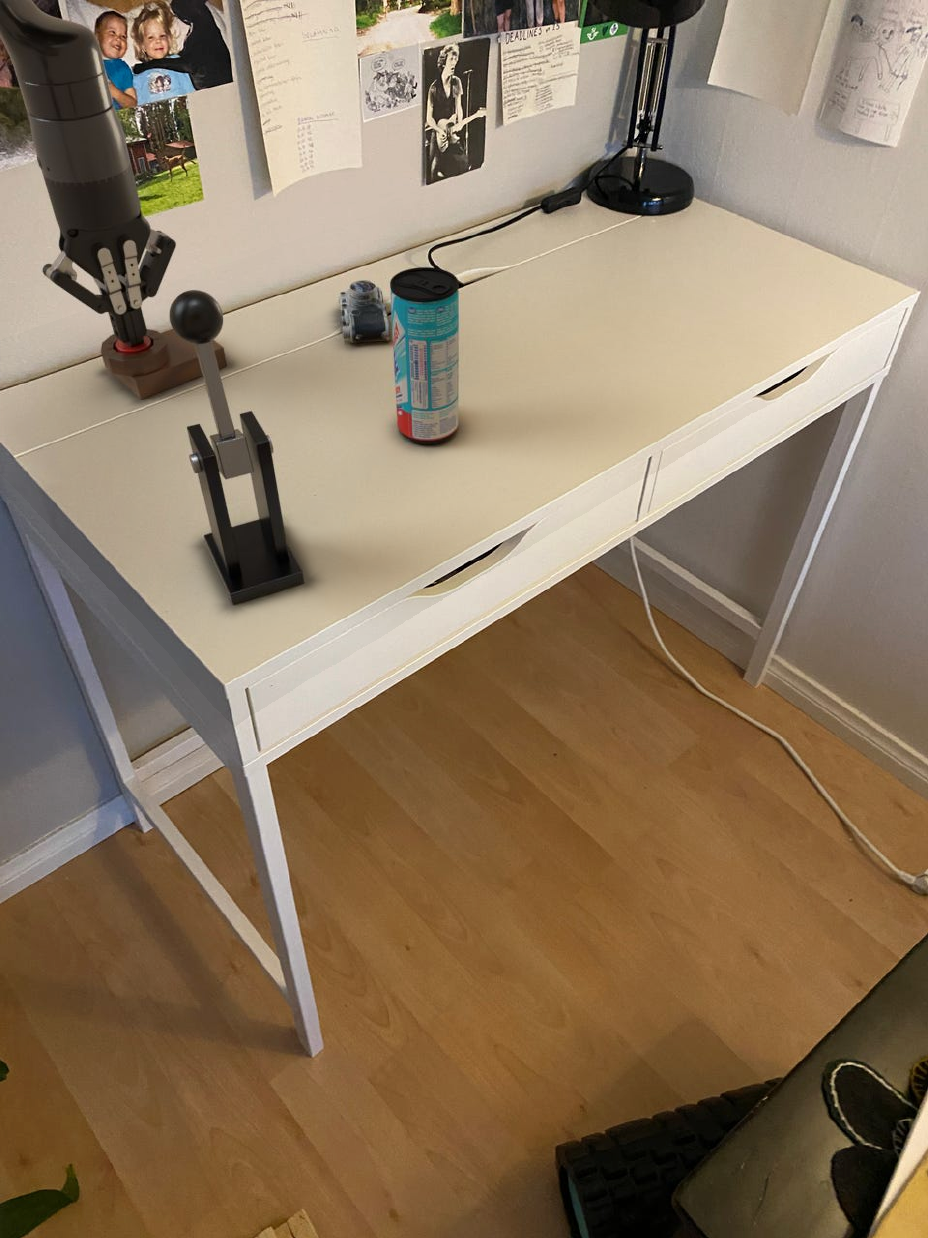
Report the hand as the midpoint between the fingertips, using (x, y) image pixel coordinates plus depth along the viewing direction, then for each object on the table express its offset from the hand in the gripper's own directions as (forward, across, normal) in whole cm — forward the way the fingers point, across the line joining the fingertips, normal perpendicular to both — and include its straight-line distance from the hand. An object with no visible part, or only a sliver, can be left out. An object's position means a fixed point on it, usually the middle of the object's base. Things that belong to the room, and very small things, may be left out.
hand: (133, 341), depth 96 cm
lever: (-11, -6, -29) cm, 32 cm away
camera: (+4, +24, -6) cm, 25 cm away
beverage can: (+4, +17, -26) cm, 31 cm away
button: (+2, 0, 0) cm, 2 cm away
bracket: (+4, -7, -32) cm, 33 cm away
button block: (+4, +3, 0) cm, 5 cm away
